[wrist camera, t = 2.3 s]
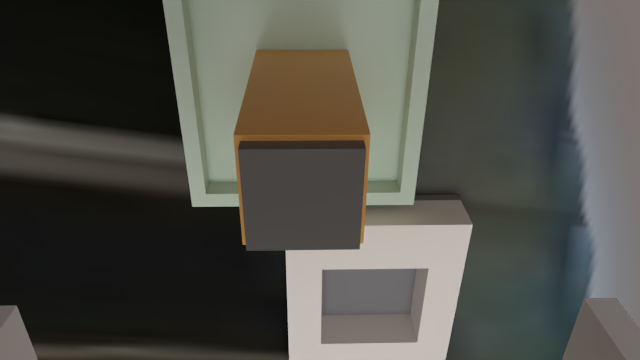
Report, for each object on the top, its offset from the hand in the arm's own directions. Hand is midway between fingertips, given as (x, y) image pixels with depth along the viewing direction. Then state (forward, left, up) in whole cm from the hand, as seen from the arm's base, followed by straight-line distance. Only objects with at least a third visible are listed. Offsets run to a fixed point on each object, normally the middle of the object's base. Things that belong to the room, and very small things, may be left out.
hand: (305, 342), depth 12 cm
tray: (0, 0, -16) cm, 16 cm away
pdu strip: (+17, +4, -16) cm, 24 cm away
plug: (0, 0, -16) cm, 16 cm away
